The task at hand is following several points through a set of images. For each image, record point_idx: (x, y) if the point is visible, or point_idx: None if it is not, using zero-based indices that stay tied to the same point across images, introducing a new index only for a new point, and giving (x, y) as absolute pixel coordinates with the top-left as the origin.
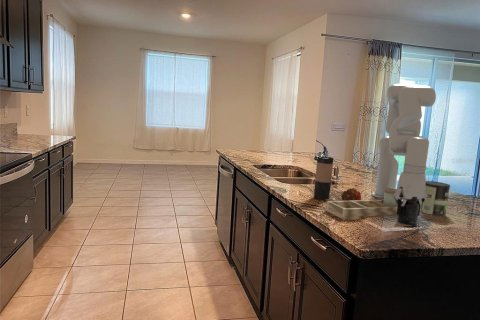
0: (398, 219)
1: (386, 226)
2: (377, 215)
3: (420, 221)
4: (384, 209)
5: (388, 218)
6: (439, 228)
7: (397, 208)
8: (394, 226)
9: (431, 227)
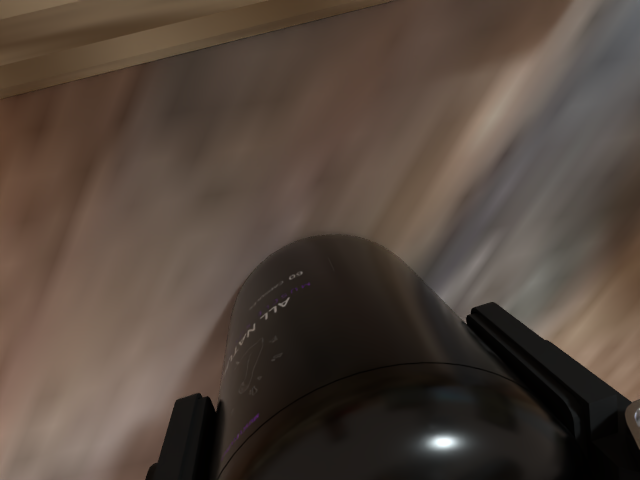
0: (225, 350)
1: (55, 401)
2: (10, 84)
3: (591, 149)
4: (116, 5)
5: (225, 67)
6: (614, 352)
7: (158, 468)
8: (158, 383)
9: (557, 338)
